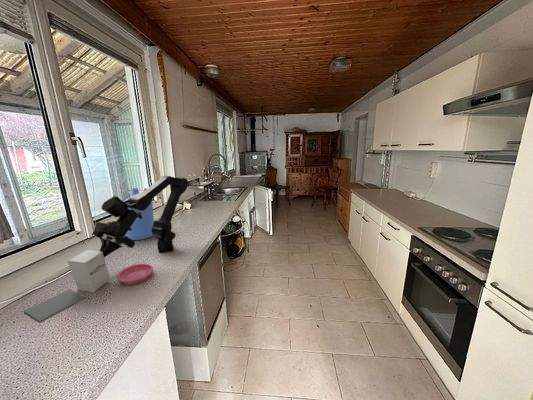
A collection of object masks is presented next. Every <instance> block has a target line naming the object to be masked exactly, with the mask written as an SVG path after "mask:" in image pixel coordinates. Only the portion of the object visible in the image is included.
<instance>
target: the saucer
mask: <svg viewBox="0 0 533 400" xmlns="http://www.w3.org/2000/svg"><path fill="white" fill-rule="evenodd" d="M153 272H154V266H153V265H151V264H149V263H136V264H131V265H130V266H126V267H124V268H123V269H121V270H120V271H119V272H118V273H117V275H116V278H117V281H118V282H120V283H122V284H124V285H128V286H131V285H132V286H133V285H137V284H141V283H143V282H145V281H147V279H149V277H150V276H151V275H152V274H153Z"/></svg>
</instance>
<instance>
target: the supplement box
mask: <svg viewBox="0 0 533 400" xmlns="http://www.w3.org/2000/svg"><path fill="white" fill-rule="evenodd" d="M67 263H68V266H69V269H70V271H71V274H72V278H73V280H74V283H75V285H76V288H77V290H79V291H85V292H91V293H96V291H97V290H98V289H100V288H101V287H102V286H104V285H105V284H106V283H107V282H108V281H110V280H111V276H110V273H109V270H108V266H107V263H106V260H105V257H104V256H103V252H100V250H99V251H98V250H89V249H86V250H85V251H83V252H80V253H79V254H78V255H76V256H74V257H72V258H71V259H69V260H67Z"/></svg>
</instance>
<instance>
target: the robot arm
mask: <svg viewBox="0 0 533 400" xmlns="http://www.w3.org/2000/svg"><path fill="white" fill-rule="evenodd" d="M167 187H170V188H169V189H170V193H169V196H168V198H167V201H166V204H165V207H164V209H163V211H162V214H161V216H160V218H159V219H158V220H155V219H154V224H153V226H152V231H151V232H152V234H153V237H154V238H155V239H157V240H158V241H157V243H156V245H157V251H158V253H159V254H161V253H167V252H174V243H173V240H174V239H176V235H177V234H176V233H175V232H174V231H172V229H173V228H172V218H173V216H174V214H175V211H176V208H177V207H178V206H177V205H178V203H179V201H180V198H181V196H182V195H183V194H184V193H185V192H186V191H187V189H188V187H189V181H188V179H187V178H185V177H178V176H175V177H173V176H171V175H162V176H160V178H159V179H158V180H157V181H156V182H154V183H153V184H151V185H150V186H149V187H148V188H146V189H145V190H143V191H141V192H139V193H138V194H136V195H134V196H133V195H132V196H130V197H128V198H129V199H128V198H127V199H128V200H126V199H125V200H126V201H124V200H122V199H120V197H119V196H116V195H113V196H112V197H111V198H109V199H107V200H105V201H104V202H103V204H102V205H101V210H102V211H104V212H105V213H107V214H109V215H111V216H112V217H114V218H117V219H116V220H112V221H108V222H100V221H96V223H95V225H94V228H93V230H94V231H92V233H91V235H93V236H95V237H97V238H98V239H99V240H100V243H101V245H100V250H99V251H100V252H103V256H104V258H106V257H107V256H109V255H111V254H112V253H113V252H115V251H117V250H118V249H120V248H123V246H122V245H125V246H126V247H127V248H130V249H133V248H134V246H135V245H136V240H132V239H130V238H128V237H127V236H125V235H126V233H127V232H128V231H131V230H132V229H131V228H130V227H131V226H132V224H133V223H134V221H135V220H136V218H139V219H142V216H141V213H140V212H136V211H134V210H140V211H143V210H145V209H146V208H147V207H148V206H149V205H150V204H151V201H152V202H153V199H155V197H156V196H157V195H159V194H160V193H161V192H163V191H164V190H165V189H166V188H167ZM128 208H131V209H134V210H129V209H128Z"/></svg>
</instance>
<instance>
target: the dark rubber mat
mask: <svg viewBox="0 0 533 400" xmlns="http://www.w3.org/2000/svg"><path fill="white" fill-rule="evenodd" d="M86 298H87V297H86V296H85V295H83V294H80V293H78V292H76V291H75V290H71V289H67V290H65V291H63V292H60V293H59V294H57V295H55V296H52V297H51V298H48V299H46V300H44V301H42V302H40V303H38V304H36V305H33V306H31V307H30V308H27V309H26V310H23V312H24V313H25V314H27V315H28V316H30V317H31V318H33V319H34V320H36V321H37V322H39V323H42V322H44V321H45V320H47V319H49V318H51V317H53V316H54V315H57V314H59V313H60V312H62V311H64V310H66V309H68V308H70V307H72V306H73V305H75V304H77V303H79V302H81V301H83V300H85V299H86Z"/></svg>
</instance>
